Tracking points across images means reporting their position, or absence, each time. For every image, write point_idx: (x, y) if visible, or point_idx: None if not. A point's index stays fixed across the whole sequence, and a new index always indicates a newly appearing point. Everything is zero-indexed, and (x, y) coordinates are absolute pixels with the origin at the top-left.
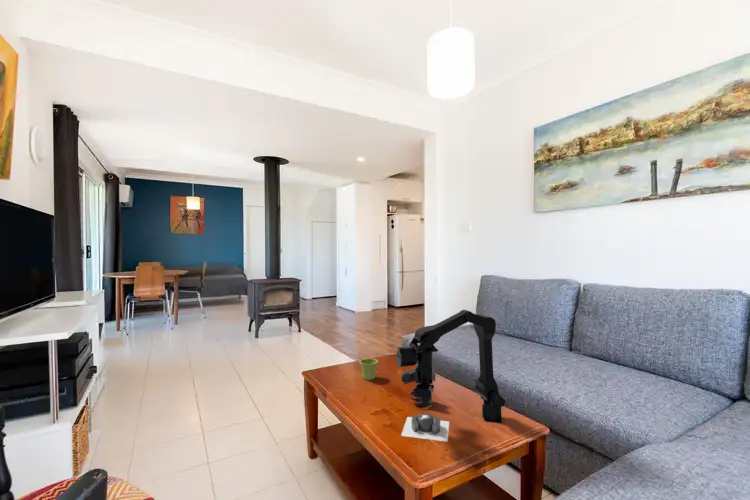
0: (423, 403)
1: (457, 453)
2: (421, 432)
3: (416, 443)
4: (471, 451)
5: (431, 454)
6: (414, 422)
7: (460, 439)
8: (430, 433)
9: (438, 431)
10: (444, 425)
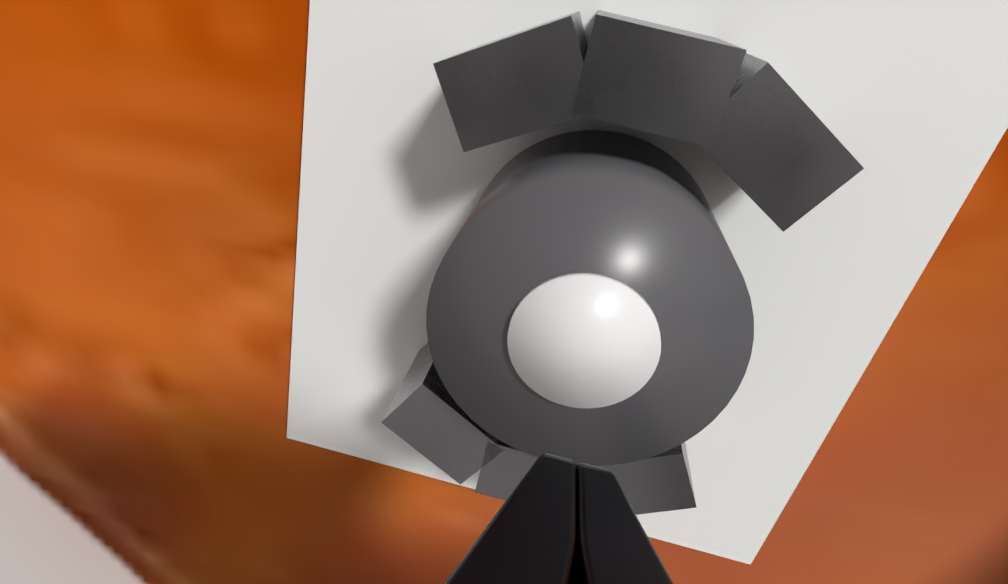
0: (480, 549)
1: (134, 462)
2: (461, 169)
3: (198, 58)
4: (199, 566)
5: (28, 222)
6: (481, 75)
7: (378, 548)
8: None
9: None
10: None
